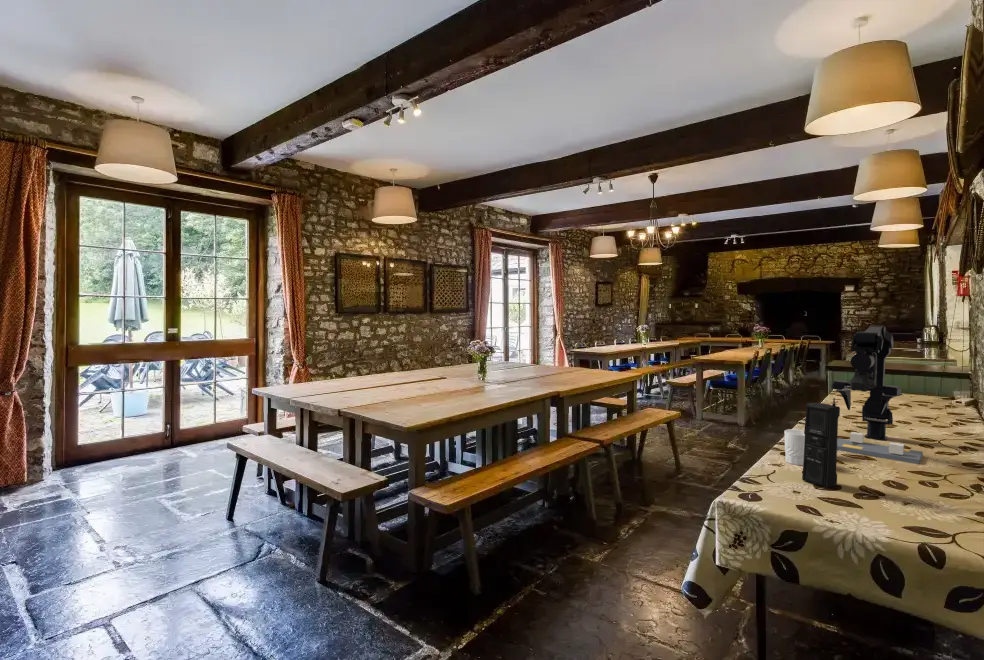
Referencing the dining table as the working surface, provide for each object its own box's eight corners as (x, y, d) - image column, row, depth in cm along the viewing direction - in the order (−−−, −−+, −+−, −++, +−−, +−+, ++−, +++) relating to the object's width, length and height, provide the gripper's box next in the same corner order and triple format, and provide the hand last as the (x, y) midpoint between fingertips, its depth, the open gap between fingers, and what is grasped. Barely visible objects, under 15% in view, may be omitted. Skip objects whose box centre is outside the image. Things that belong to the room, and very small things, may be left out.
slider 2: (890, 450, 167) (890, 442, 167) (903, 453, 165) (904, 444, 165) (888, 452, 165) (889, 443, 165) (902, 455, 163) (903, 446, 163)
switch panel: (838, 442, 185) (838, 437, 185) (922, 455, 168) (922, 451, 168) (830, 449, 176) (830, 444, 176) (918, 464, 159) (919, 459, 159)
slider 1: (851, 439, 182) (851, 431, 181) (863, 441, 179) (863, 433, 179) (849, 441, 179) (850, 433, 179) (862, 443, 177) (862, 435, 177)
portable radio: (797, 479, 144) (799, 394, 143) (810, 476, 147) (813, 393, 146) (824, 488, 137) (827, 399, 136) (838, 485, 140) (841, 397, 138)
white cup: (802, 468, 155) (803, 436, 155) (778, 461, 162) (779, 430, 162) (817, 464, 159) (818, 433, 158) (792, 457, 166) (793, 428, 165)
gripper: (826, 367, 174) (825, 410, 175) (893, 372, 160) (891, 420, 160) (838, 364, 181) (836, 406, 182) (902, 369, 166) (900, 415, 167)
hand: (864, 412), depth 173 cm, fingers open, 9 cm apart
